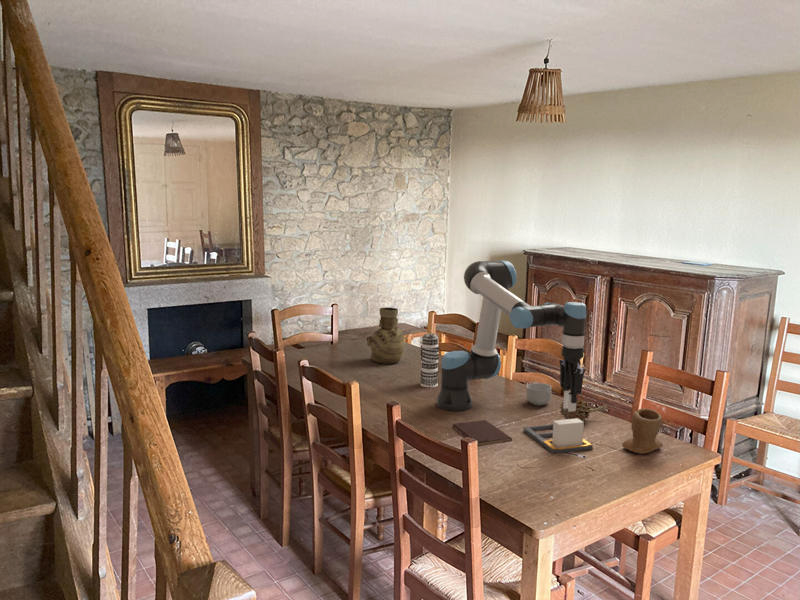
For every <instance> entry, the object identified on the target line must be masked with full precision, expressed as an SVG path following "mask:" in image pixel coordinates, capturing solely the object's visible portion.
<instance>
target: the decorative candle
mask: <svg viewBox="0 0 800 600" xmlns="http://www.w3.org/2000/svg"><path fill="white" fill-rule="evenodd" d="M421 339H422V342H421V345H420V356H421V357H420V362H421V369H420V386H421V387H423V388H429V387H430V388H436V387H438V386H439V384H438V383H439V381H438V380H439V371H438V369H439V367H438V364H439V359H440V358H439V356H440V354H439V352H440V350H439V349H440V346H439V337H438V335H436V334H435V333H433V332H432V333H429V332H428V333H424V334H423V335H422V336H421Z"/></svg>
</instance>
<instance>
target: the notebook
mask: <svg viewBox="0 0 800 600" xmlns="http://www.w3.org/2000/svg"><path fill="white" fill-rule="evenodd" d="M453 427H454V428H453ZM452 428H453V429H455V428H456V429H457V430H458V431H460V432H461V433H462V434H463V435H462V434H461V433H460V432H459V433H460V434H461V435H462V436H464V437H465V438H466V437H470V438H473V439H475V440H477V441H478V445H477V446H482V445H489V444H491V445H492V444H496V443H503V442H509V441H513V438H512V437H511V436H509V435H508V434H506V433H505V432H504V431H502V430H501V429H499V428H498V427H496V426H495V425H493V424H492V423H491V422H489V421H488V420H486V419H484V420H483V419H482V420H477V421H476V420H475V421H467V422H457V423H456V422H455V423H453V424H452ZM456 429H455V430H456ZM457 430H456V431H457ZM458 431H457V432H458Z"/></svg>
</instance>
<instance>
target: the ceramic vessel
mask: <svg viewBox="0 0 800 600" xmlns="http://www.w3.org/2000/svg"><path fill="white" fill-rule="evenodd" d="M398 314H399V309H398V308H395V307H389V306H388V307H386V306H385V307H380V308H379V315H380V319H379V324H378V327H380V328H378V329H377V330H376V331H374V332H373V334H372V335H371V336H367V337H366V342H367V344H366V345H367V347H369V348H370V351H371V354H370V360H371V361H372V362H375V363H377V364H380V363H381V365H395V364H397V363H399V362H400V360H401V359H402V357H403V355H404V354H403V353H404V351H405V335H404V331H403V330H402V329H400V328H399V327H398V326H397V324H398V322H399V320H398Z"/></svg>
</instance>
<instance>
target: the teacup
mask: <svg viewBox="0 0 800 600" xmlns="http://www.w3.org/2000/svg"><path fill="white" fill-rule="evenodd" d="M525 388H526V399H527V401H528V402H529V403H530V404H532V405H534V406H545V405H547V404H548V403H549V402H551V399H552V388H553V387H552V385H550V384H548V383H542V382H537V381H534V382H532V383H528V384H527V385H526V387H525Z"/></svg>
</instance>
